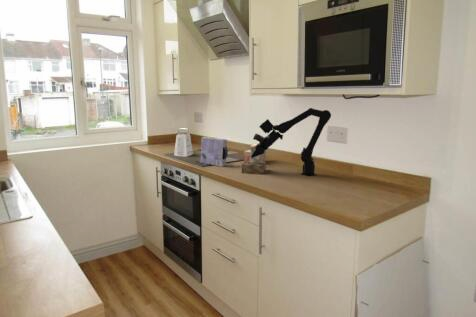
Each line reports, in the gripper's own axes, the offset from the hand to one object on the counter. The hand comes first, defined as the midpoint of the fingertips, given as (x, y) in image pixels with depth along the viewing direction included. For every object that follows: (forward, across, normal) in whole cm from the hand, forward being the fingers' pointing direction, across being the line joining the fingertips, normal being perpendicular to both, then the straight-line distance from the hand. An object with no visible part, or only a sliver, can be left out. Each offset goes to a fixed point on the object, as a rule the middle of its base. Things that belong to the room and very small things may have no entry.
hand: (252, 156), depth 211 cm
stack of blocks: (+8, -26, +5) cm, 27 cm away
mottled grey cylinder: (+4, 0, +7) cm, 8 cm away
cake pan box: (+26, -12, -13) cm, 31 cm away
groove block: (+5, 0, +7) cm, 9 cm away
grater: (+48, -40, -35) cm, 72 cm away
